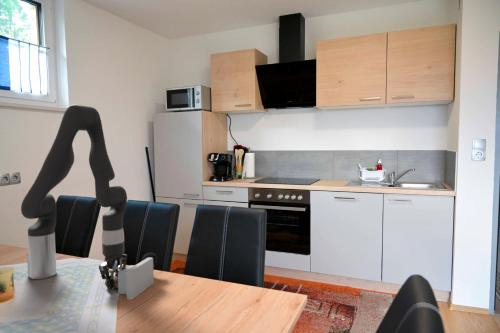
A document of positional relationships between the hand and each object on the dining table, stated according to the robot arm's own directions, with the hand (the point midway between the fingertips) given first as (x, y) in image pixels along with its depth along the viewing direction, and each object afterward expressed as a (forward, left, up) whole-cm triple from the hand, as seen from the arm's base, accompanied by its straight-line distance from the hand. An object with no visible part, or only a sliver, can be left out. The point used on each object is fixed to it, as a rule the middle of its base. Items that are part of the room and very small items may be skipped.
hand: (114, 286), depth 124 cm
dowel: (+3, 0, 0) cm, 3 cm away
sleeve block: (+7, 0, -1) cm, 7 cm away
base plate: (+10, 0, -1) cm, 10 cm away
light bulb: (+8, +12, -1) cm, 14 cm away
